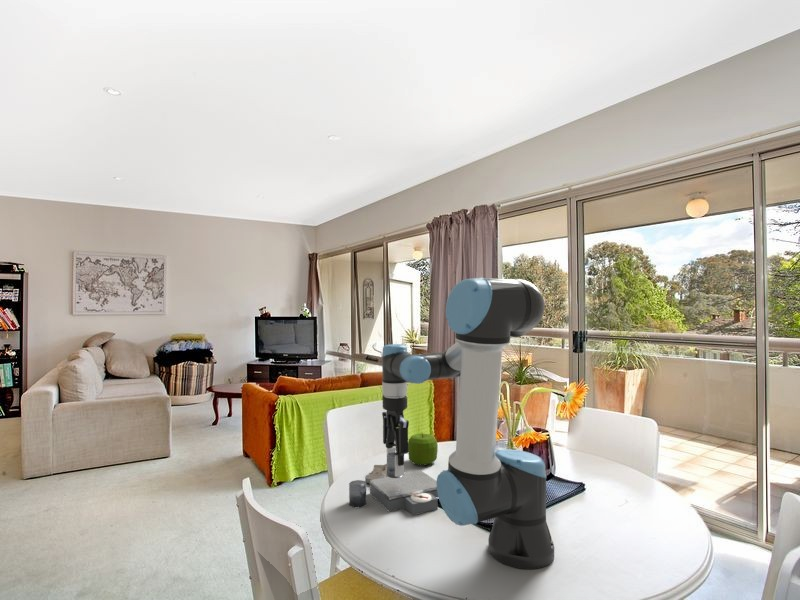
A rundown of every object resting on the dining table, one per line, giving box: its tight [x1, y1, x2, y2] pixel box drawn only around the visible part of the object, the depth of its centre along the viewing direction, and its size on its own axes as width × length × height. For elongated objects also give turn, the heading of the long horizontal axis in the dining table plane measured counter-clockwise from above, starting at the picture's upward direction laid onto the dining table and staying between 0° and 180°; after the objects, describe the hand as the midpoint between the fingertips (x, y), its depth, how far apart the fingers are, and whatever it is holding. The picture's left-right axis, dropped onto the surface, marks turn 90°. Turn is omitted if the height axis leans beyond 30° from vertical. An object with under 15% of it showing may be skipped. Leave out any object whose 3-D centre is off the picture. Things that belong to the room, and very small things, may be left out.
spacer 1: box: [348, 479, 367, 508], centre depth 135 cm, size 5×5×6 cm
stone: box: [364, 463, 388, 485], centre depth 154 cm, size 15×10×4 cm, turn 167°
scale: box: [369, 483, 439, 516], centre depth 137 cm, size 20×18×4 cm
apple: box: [408, 432, 439, 466], centre depth 169 cm, size 11×11×11 cm
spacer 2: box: [386, 452, 402, 478], centre depth 138 cm, size 5×5×6 cm
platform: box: [369, 470, 437, 500], centre depth 140 cm, size 14×18×1 cm
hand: (395, 472), depth 138 cm, fingers closed on spacer 2, 5 cm apart
